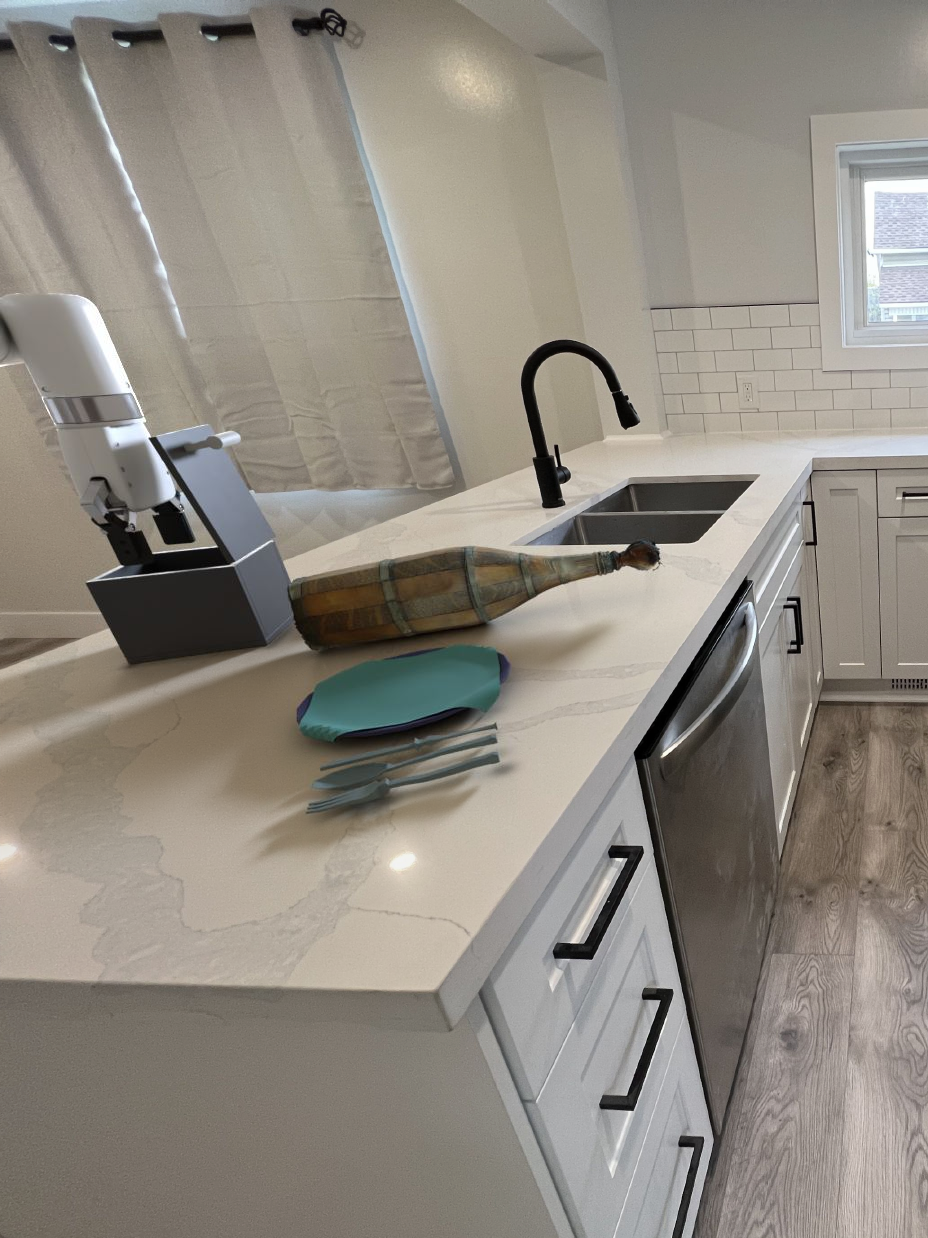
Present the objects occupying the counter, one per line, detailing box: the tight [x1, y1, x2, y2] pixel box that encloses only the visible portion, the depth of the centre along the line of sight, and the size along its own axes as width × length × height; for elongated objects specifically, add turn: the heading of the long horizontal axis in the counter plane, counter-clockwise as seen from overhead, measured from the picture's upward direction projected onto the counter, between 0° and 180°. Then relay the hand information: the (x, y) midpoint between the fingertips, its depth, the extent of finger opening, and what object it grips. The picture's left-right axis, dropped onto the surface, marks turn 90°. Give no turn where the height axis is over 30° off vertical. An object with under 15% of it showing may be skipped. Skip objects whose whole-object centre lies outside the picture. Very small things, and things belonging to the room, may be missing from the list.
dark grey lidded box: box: [84, 539, 295, 665], centre depth 91 cm, size 15×13×11 cm
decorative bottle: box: [287, 539, 665, 652], centre depth 94 cm, size 11×11×45 cm
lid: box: [148, 423, 277, 563], centre depth 88 cm, size 15×13×5 cm
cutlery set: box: [295, 643, 512, 815], centre depth 71 cm, size 20×30×2 cm, turn 27°
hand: (161, 553), depth 88 cm, fingers open, 9 cm apart
